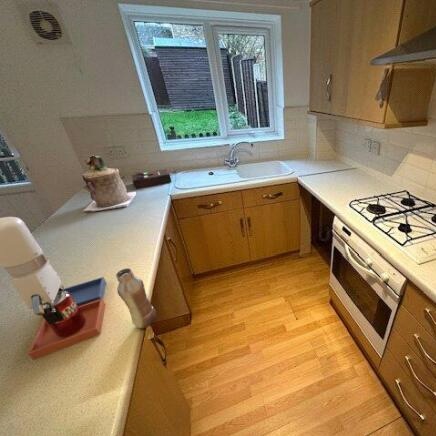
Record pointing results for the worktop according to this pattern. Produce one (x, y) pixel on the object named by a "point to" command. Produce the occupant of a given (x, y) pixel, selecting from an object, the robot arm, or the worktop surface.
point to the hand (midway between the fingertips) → (60, 311)
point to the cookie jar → (105, 186)
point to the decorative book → (151, 179)
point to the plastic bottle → (135, 298)
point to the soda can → (66, 315)
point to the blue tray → (87, 291)
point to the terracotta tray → (51, 342)
